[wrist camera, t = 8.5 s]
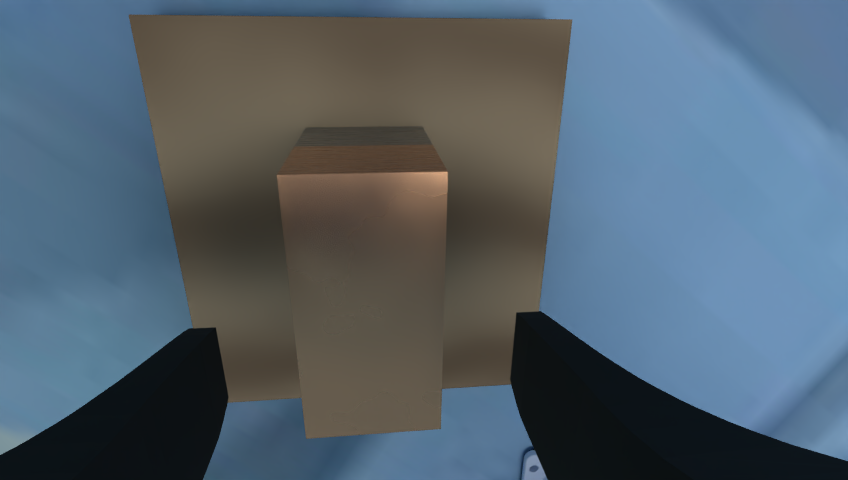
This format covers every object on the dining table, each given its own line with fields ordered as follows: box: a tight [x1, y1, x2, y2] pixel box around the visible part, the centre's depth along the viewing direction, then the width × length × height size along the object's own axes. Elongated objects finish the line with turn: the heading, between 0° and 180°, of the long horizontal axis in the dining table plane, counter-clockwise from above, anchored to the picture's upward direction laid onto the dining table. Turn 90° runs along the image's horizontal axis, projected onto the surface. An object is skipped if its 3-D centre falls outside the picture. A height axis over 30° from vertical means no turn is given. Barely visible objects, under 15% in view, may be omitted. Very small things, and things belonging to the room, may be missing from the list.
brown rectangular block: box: [277, 126, 448, 439], centre depth 16 cm, size 8×4×6 cm, turn 179°
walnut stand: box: [129, 15, 572, 403], centre depth 20 cm, size 15×14×2 cm
